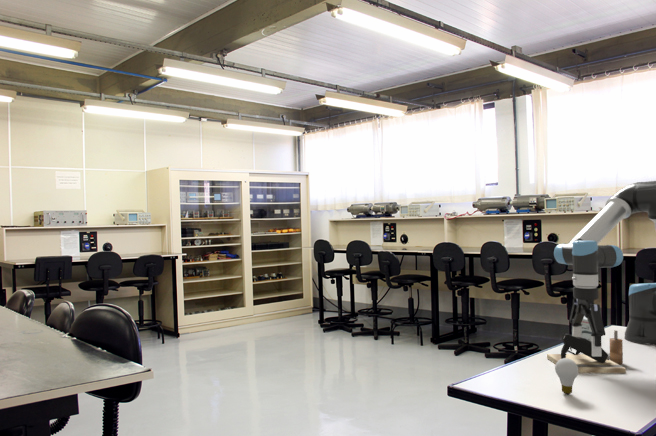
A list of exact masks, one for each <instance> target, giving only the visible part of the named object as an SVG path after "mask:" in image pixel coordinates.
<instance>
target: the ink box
mask: <svg viewBox="0 0 656 436" xmlns="http://www.w3.org/2000/svg"><path fill="white" fill-rule="evenodd" d="M581 324H582V326H579V327H582V338H586V339H588V340H590V341H592V337H591V334H592V330H591V328H590V325H589V322H588V319H587V318H586V317H585V316H584V318H583V320H582V322H581ZM571 335H572V336H573V326H572V325H571Z"/></svg>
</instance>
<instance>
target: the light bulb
mask: <svg viewBox="0 0 656 436" xmlns="http://www.w3.org/2000/svg"><path fill="white" fill-rule="evenodd" d="M554 370H555V373H556V375H557V376H558V378H559V381H560V384H561V385H560V386H561V392H562V393H563V394H564V395H567V396H568V395H571V394H572V393H573V385H574V383H575V379H576V378H577V377H578V375H579V373H578V366H577V364H576V363H575V362H574V361H573V360H571V359H568V358H563V359H560V360H559V361H558V362H557V363H556V364H555V365H554Z"/></svg>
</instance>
